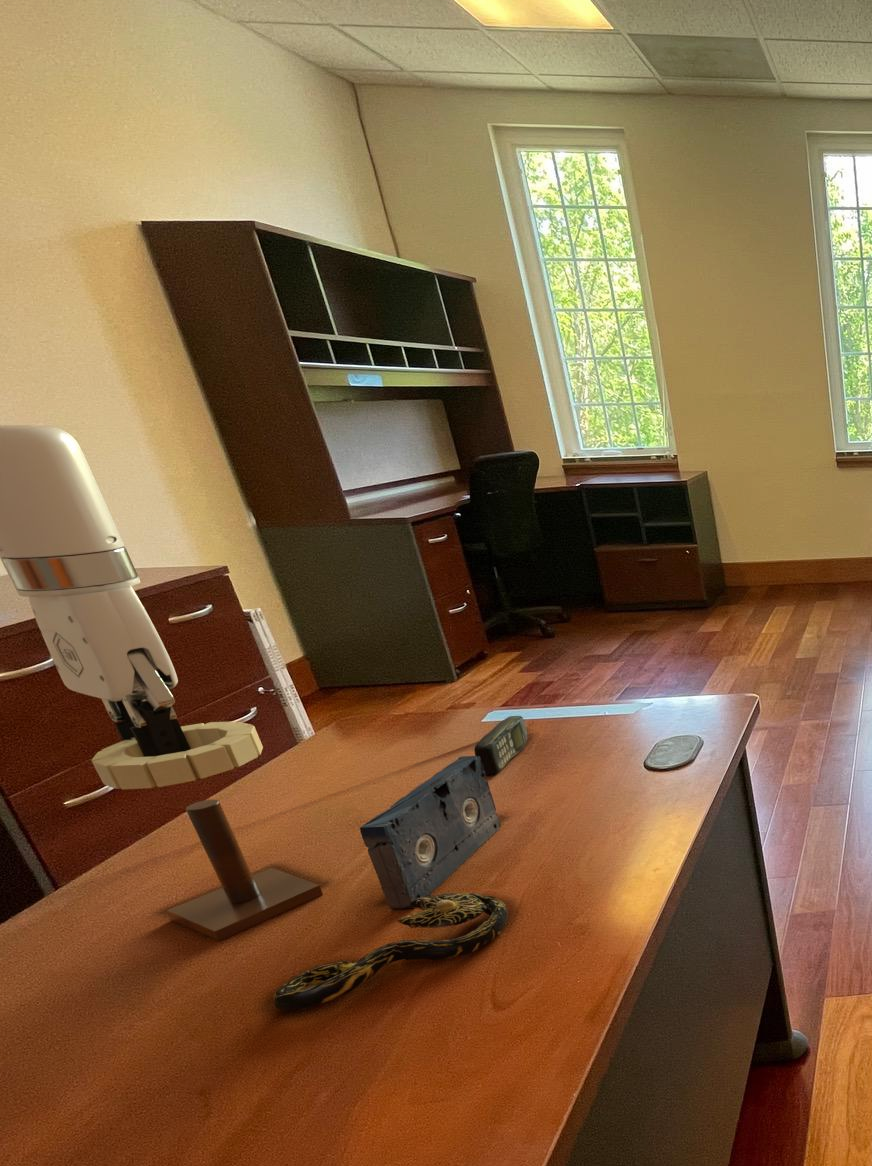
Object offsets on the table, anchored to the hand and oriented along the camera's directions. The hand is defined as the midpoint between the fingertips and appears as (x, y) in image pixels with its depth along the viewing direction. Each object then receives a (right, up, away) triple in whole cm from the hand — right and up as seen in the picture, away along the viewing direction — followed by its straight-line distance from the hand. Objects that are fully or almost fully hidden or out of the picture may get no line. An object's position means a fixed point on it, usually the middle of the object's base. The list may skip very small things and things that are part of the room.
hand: (162, 756), depth 78 cm
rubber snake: (+27, -20, -3) cm, 33 cm away
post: (+4, -16, +5) cm, 17 cm away
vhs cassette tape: (+20, -13, +13) cm, 27 cm away
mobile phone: (+8, 0, +41) cm, 42 cm away
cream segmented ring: (+4, -1, -1) cm, 4 cm away
